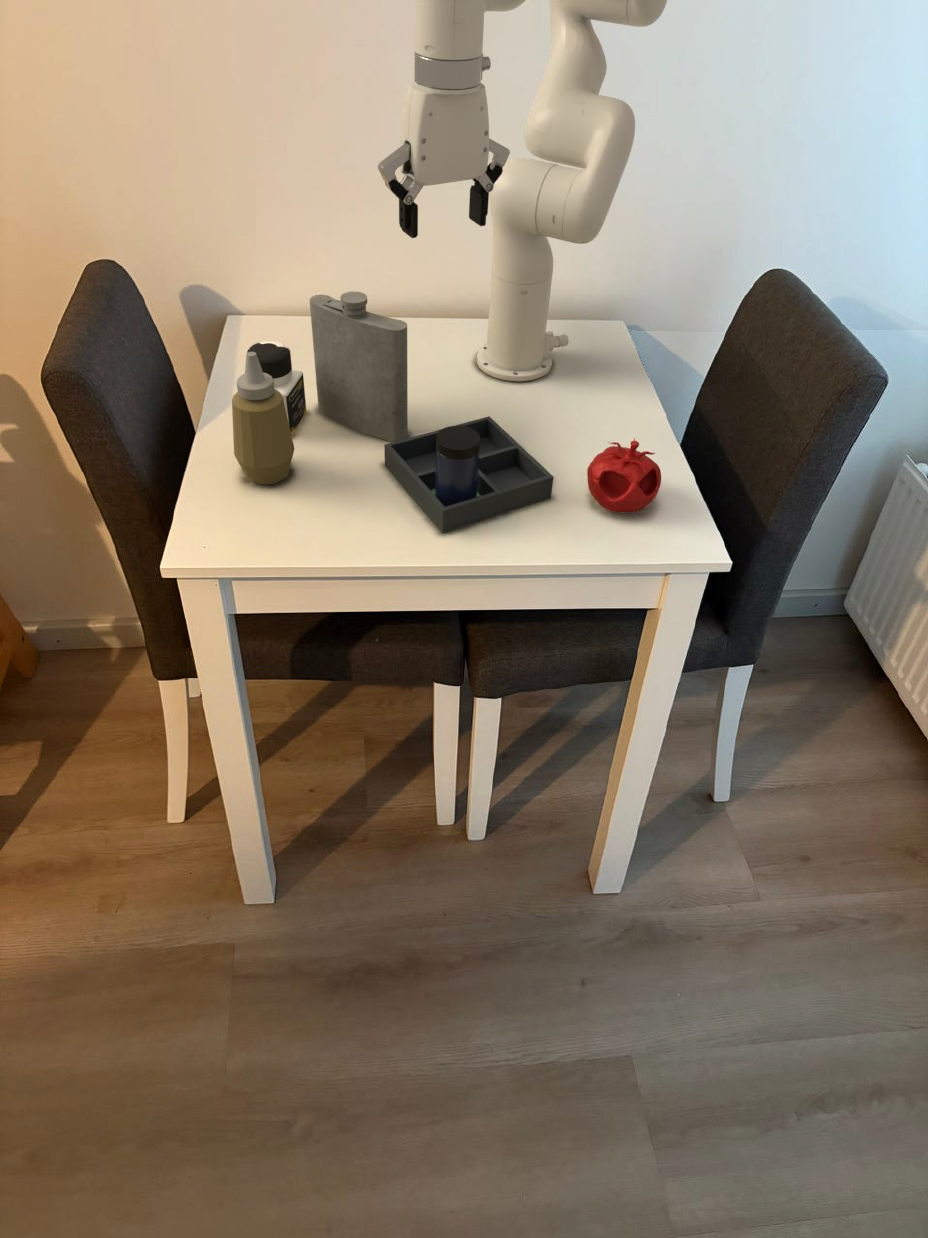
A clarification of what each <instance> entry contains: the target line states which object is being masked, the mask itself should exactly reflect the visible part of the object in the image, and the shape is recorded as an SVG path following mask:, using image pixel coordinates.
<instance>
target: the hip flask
mask: <svg viewBox="0 0 928 1238" xmlns="http://www.w3.org/2000/svg"><path fill="white" fill-rule="evenodd" d="M367 305H368V296H367V294H366V293H364V292H362V291H347V292H344V293H342V294H341V295H340V300H339V299H336V298H333V297H332V296H330V295H327V294H315V295H312V296H311V297H310V298H309V312H310V320H311V322H310V323H311V334H312V346H313V347H312V348H313V357H314V358H313V359H314V373H315V384H316V397H317V406H318V412H319V413H320V414H321V415H323V416H325V417H327V418H328V419H330V420H332V421H334V422H336V423H338V424H340V425H342V426H344V427H347V428H349V429H351V430H354V431H357V432H359V433H362V434H364V435H367V436H371V437H373V438H377V439H380V440H383V441H388V442H395V441H399V440H403V439H406V438H409V437H408V426H409V425H408V422H409V421H408V417H409V416H408V411H409V410H408V409H409V408H408V407H409V406H408V323H407V322H406V321H404V320H401V319H396V318H393V317H389V316H388V317H387V316H384V315H380V314H376V313H373V312H370V311H367Z"/></svg>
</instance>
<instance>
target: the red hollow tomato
mask: <svg viewBox="0 0 928 1238" xmlns="http://www.w3.org/2000/svg"><path fill="white" fill-rule="evenodd" d="M607 443H608V444H611V445H610V446H609V447H606V448H605V449H604V450H603V451H602V452H600V453H598V454H597V455H595V456H594V458H593V459H592V461H591V462H590V463H589V465H588V467H587V469H586V476H587V479H586V480H587V486H588V491H589V493H590V495H591V496H592V498H593V499H594V501H596V502H597V504H598V506H600V507H601V508H603V509H605V510H606V511H608V512H610V513H616V514H631V513H637V512H640V511H643V510H644V509H646V508H647V507H648V506H650V505H651V503H652V502H653V501H654V500H655V499H656V497H657V496H658V492H659V491H660V487H661V485H662V484H661V483H662V471H661V468H660V467H659V465H658V463H656V462H655V461H654V460H653V459H651V458H650V457H649V456H647V455H651V456H653V455H655V454H656V452H651V451H647V450H644V451H642V452H641V451H639V450H637V449H639V447H640V442H639V441H637V440H636V437H635V438H633V440H632V441H630V446H629V447H624V446H621V444H620V443H619V442H617V441H616V442H614V441H613V442H610V441H607Z"/></svg>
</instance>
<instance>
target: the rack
mask: <svg viewBox="0 0 928 1238" xmlns="http://www.w3.org/2000/svg"><path fill="white" fill-rule="evenodd" d="M454 426H465V427H469V428H472V429H474V430H475V431H476V432H478V434H479V435H480V453H479V468H478V484H477V497H476V498H473V499H470V500H466V501H463V502H460V503H456V504H453V505H450V506H447V507H445V506H444V505H443V504H442V503H441V502H440V501H439V500H438V499H437V497H436V496H435V472H436V436H437V433H438V432H439V431H440V430H441V429H442V428H440V429H437V430H433V431H428V432H426V433H422V434H418V435H414V436H410V437H407V438H406V439H403V440H399V441H395V442H392V441H390V442H388V443H384V444H383V445H384V446H383V447H384V448H383V449H384V467H385V468H386V469H387V470H388V471H389V473H390V474H391V475H392V476H393V478H395V480H396V481H397V482H398V483H399V484H400V486H401V487H402V488H403V490H405V491H406V493H408V495H409V496H410V497H411V498H412V500H413V501H415V503H416V504H417V506H418V507H419V508H420V509H421V510H422V511H423V512H424V514H425V515H426V516H427V517H428V518H429V519H430V521H431V522H432V523H433V524H434V526H436V528H437V529H438V530H439V531H440V532H441V534H444V533H447V532H449V531H450V532H451V531H453V530H456V529H459V528H460V529H461V528H462V527H463V528H464V527H466V526H469V525H472V524H475V523H478V522H481V521H484V520H488V519H491V518H494V517H497V516H501V515H503V514H506V513H510V512H513V511H516V510H519V509H522V508H525V507H529V506H531V505H534V504H537V503H540V502H544V501H547V500H550V499H552V494H553V493H552V492H553V487H554V486H553V485H554V481H555V480H554V479H555V476H554V475H552V473H550V472H549V470H548V469H547V468H545V467H544V466H543V465H542V464H541V463H540V462H539V461H538V460H536V459H535V457H533V456H532V455H531V454H530V453H529V452H528V451H527V449H525V448H524V447H522V445H521V444H520V443H519V442H518V441H516V440H515V439H514V438H513V437H512V436H511V435H510V434H509V433H508V432H507V431H506V430H504V428H503V427H502V426H500V425H499V423H497V421H496V420H495V419H493V418H492V417H491V416H490V415H488V416H484V417H481V418H477V419H474V420H473V419H472V420H469V421H466V422H462V423H458V424H455V425H454Z"/></svg>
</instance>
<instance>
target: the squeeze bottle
mask: <svg viewBox="0 0 928 1238" xmlns="http://www.w3.org/2000/svg"><path fill="white" fill-rule="evenodd" d="M244 367H245V368H244V373H243V374H241V375H240V376H239V377H238V378H237V379H236V382H235V383H236V388H237V389H236V390H237V392H236V393H234V394H233V395H232V399H231V413H232V415H231V416H232V436H233V454H234V455H233V456H234V458H235V459H236V461H237V463H238V464H239V466H240V468H241V470H242V471H243V473H244V475H245V477H246V478H247V480H249V481H250V482H252V483H253V484H257V485H272V484H273V485H274V484H277V483H279V482H281V481H283V480H285V479H286V478H287V476H288V475H289V472H290V469H291V464H292V461H293V457H294V452H295V445H294V441H293V437H292V436H293V435H292V436H291V432H290V427H289V423H288V419H287V414H286V410H285V405H284V401H283V397H282V395H281V393H280V392H279V391H277V390H276V389H274V381H273V378H272V376H270V375H268V374H267V373H263V371H262V368H261V366H260V363H259V360H258V358H257V355H256V353H255V352H248V353H247V352H246V356H245V366H244Z"/></svg>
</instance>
